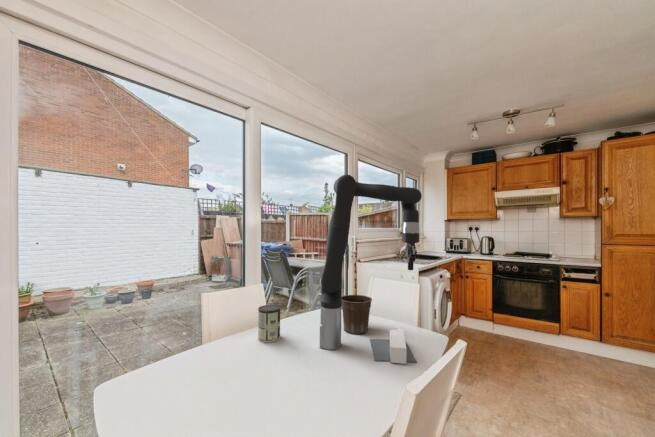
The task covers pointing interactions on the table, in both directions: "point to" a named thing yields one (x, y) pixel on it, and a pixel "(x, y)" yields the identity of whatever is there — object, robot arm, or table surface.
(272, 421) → the table surface
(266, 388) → the table surface
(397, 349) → the milk
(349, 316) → the plant pot
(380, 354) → the mat
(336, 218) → the robot arm
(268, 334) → the coffee can
